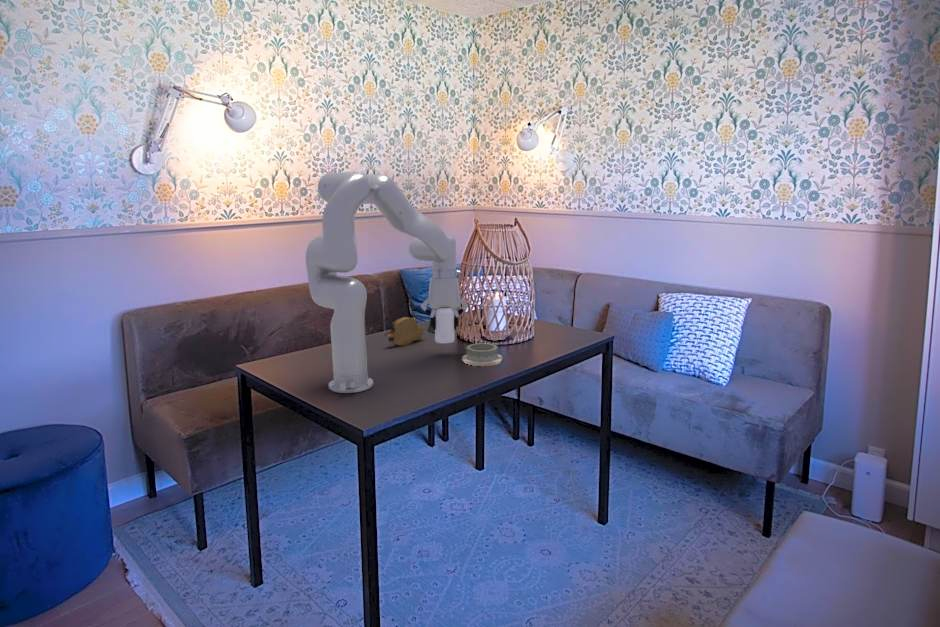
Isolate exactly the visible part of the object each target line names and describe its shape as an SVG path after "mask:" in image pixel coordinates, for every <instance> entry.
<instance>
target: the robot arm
mask: <svg viewBox="0 0 940 627" xmlns="http://www.w3.org/2000/svg"><path fill="white" fill-rule="evenodd" d="M317 192H318V195H319V196H320V198H321V199H322V200H324V201H325V202H326V203H327V204H326V205H325V207H324V209H323V212H322V213H323V214H322V218H321V219H322V220H321V222H322V225H321V226H322V236H317V237H315V238H313V239H312V240H310V242H309V244H308V245H307V247H306V251H305V267H306V273H307V281H308V289H309V294H310V297H311V299H312V301H313V302H314V303H315V304H316V305H317V306H320V307H323V308H326V309H331V310H334V312H333V314H332V318H331V319H330V328H329V330H330V340H331V357H332V359H331V360H332V372H333V379H332V380H331V381H329V382H328V389H329V390H330V391H332V392H333V393H339V394H353V393H360V392H364V391H367V390H369V389H371V388H372V387H373V386H374V379H373V378H371V377H368V362H367V357H368V356H367V342H366V341H367V340H366V338H367V337H366V320H365V317H366V316H365V315H366V307H367V306H366V305H367V299H368V297H367V296H368V295H367V294H368V293H367V289H366V287H365V285H364V284H363V283H362V282H361V281H360V280H359V279H356V278H354V277H350V276H343V275H338V273H342V274H343V273H350V272H352V271H353V270H355V268H356V267H357V265H358V249H357V240H356V230H355V227H356V226H355V219H356V214H357V212H358V211H359V208H360V207H361V205H363V204H365V205H366V204H368V205H369V204H370V205H374V206H375V207H376V208H377V209H378V210H379V212H380V213H381V214H382V215H383V217H384V218H385V219H386V221H387V222H388V223H389V225H390V226H391V227H392V228H394V229H396V230H397V231H400V232H401V233H404V234H406V235H410V236H412V237H414V238H413V239H412V240H411V241H410V243H409V245H408V252H409V254H410V256H411V257H412V258H414V259H415V260H418V261H425V262H432V277H431V278H430V279H429V287H428V297H427V298H426V299H425V300H424V301H423V303H421V304H420V308H421V309H422V310H423V311H424V312H425V313H426V314H427V315H428V316H429V317H430V320H431V327H433V330H435V316H434V314H435V312H436V310H438V309H440V308H450V307H451V309H453V311H454V314H455V315H454V329H456V330H457V327H459V317H460V316H461V315H462V314H463V312H464V311H466V310H467V308H469V304H468V303H466V302H465V300H463V298H461V292H460V284H459V283H460V282H459V278H458V277H457V276H461V270H458V269H457V258H456V257H457V241H456V238H455V237H453V236H451V235H446V233H445V231H444V230H443V228H442V227H440V225H438V224H437V223H436V222H435V221H433V219H430V218H429V217H428V216H426V215H425V214H423V213H422V212H420V210H417V209H416V208H415V207H414V206H413V205H412V203H411V202H410V201H409V199H408V198H407V196H406V195H405V194H404V192H403V191H402V190H401V189H400V187H399V186H398V184H397V183H396V182H395V181H394V180H393V178H392V177H391V176H389V175H388V174H383V173H370V174H369V173H368V174H366V173H362V172H358V171H357V172H356V171H344V172H342V171H340V172H337V171H336V172H328V173H325V174H324V175H322V176H321V177H320V178H319V181H318V183H317ZM461 305H462V306H461ZM427 306H428V307H429V308H430V309H431V310H430V309H429V308H427ZM460 306H461V307H460Z"/></svg>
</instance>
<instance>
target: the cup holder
mask: <svg viewBox="0 0 940 627" xmlns="http://www.w3.org/2000/svg"><path fill="white" fill-rule="evenodd" d="M498 348H499V347H498V346H497V345H496V344H493V343H487V342H480V343H479V342H478V343H476V342H475V343H470V344H468V345H467V346H466V353H465V354H464V355H462V357H461V362H462V361H463V362H464V363H465V365H466V364H468V365H467V366H470V365H472V366H471V367H477V366H481V367H482V368H484V367H485V366H486V367H493V366H496V365H500V364H502V363H503V356H502V355H501V354H498V352H499V350H498ZM463 362H462V363H463ZM464 363H463V364H464Z"/></svg>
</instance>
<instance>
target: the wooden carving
mask: <svg viewBox="0 0 940 627" xmlns="http://www.w3.org/2000/svg"><path fill="white" fill-rule="evenodd" d="M418 324H419V323H418V320H417V318H416V317H414V316H412V317H409V316H403V317H400V318H398V319H396V320H395V321H392V322H391V324H390V331H389V332H386V333H385V332H384V336H386V337H388V339H387V340H388V341H389V342H390V343H391V344H394V345H397V346H400V347H401V346H403V345H404V346H407V345H410V344H411V343H413V342H414V341H415V340H416V341H419V340H421V339H422V338H423V334H424V331H425V327H423V326H420V325H418ZM406 344H407V345H406Z"/></svg>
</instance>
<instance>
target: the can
mask: <svg viewBox="0 0 940 627" xmlns="http://www.w3.org/2000/svg"><path fill="white" fill-rule="evenodd" d="M454 315H455V314H454V311H453V309H451V307H450V308H440V309H438V310H436V312H435V334H434V342H435V343H436V344H439V345H450V344H453V343H454V342H455V339H456V338H455V336H456V335H455V332H456V331H455V329H454Z"/></svg>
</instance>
